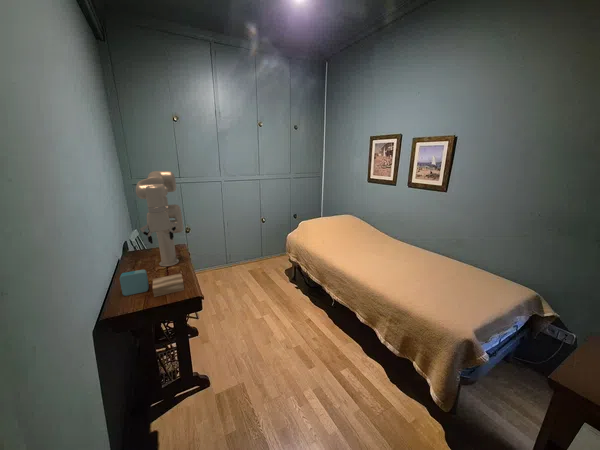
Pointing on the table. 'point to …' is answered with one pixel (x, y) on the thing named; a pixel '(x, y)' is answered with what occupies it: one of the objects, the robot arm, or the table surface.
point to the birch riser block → (167, 284)
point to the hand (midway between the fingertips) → (161, 241)
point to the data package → (134, 282)
